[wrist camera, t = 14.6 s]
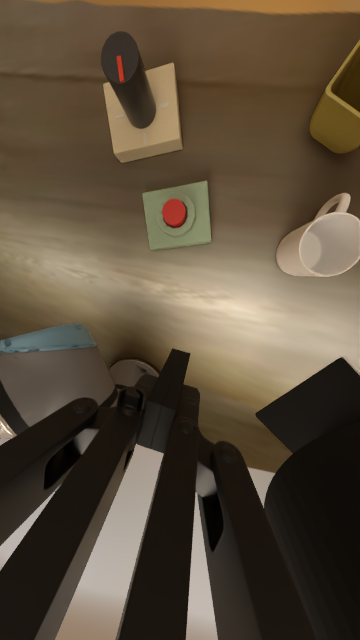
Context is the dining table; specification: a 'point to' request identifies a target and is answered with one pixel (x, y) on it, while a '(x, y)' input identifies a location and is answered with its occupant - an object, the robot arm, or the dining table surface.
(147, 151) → the dimmer panel
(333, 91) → the flower pot
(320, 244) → the cup
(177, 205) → the button
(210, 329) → the dining table surface
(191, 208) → the switch box
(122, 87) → the dimmer knob
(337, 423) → the table lamp
